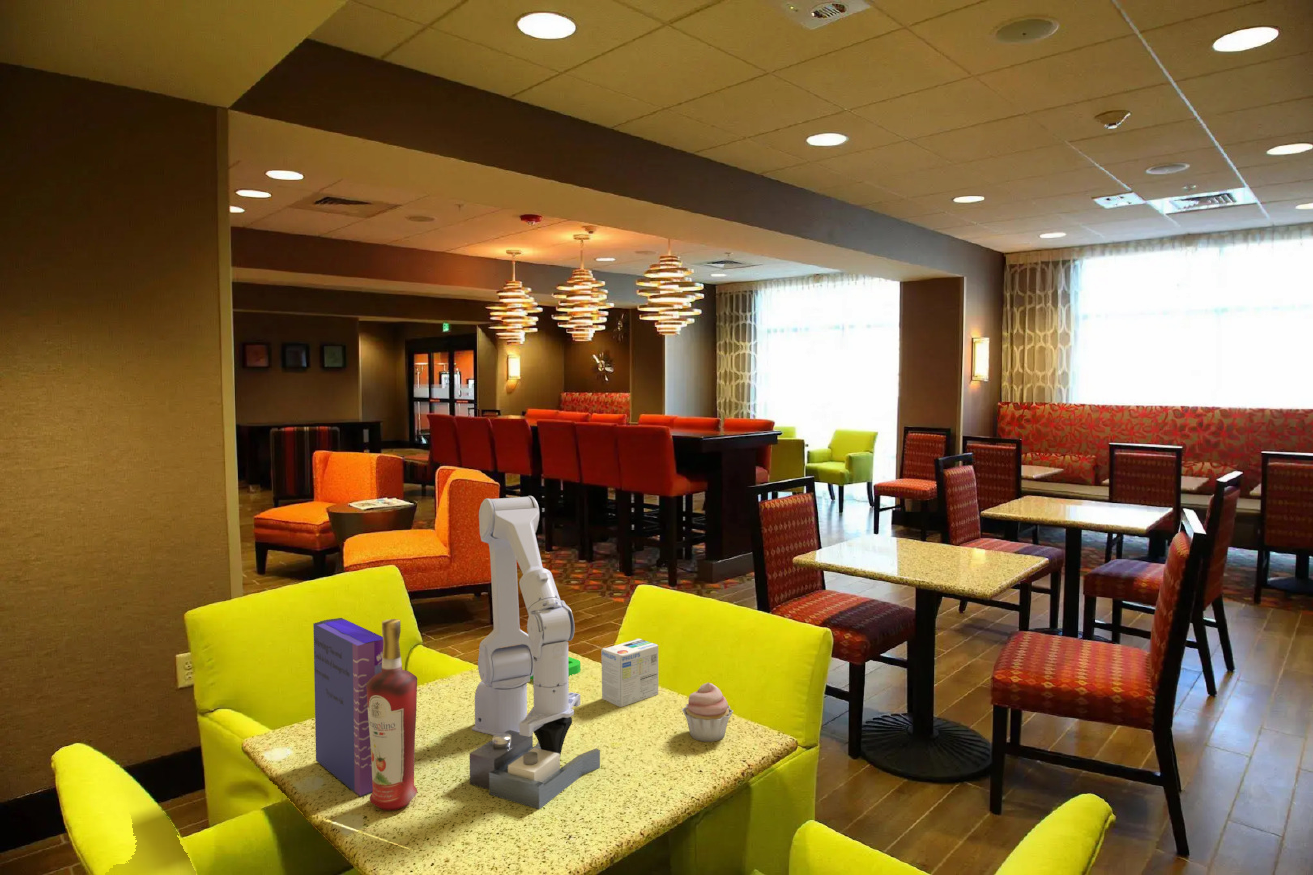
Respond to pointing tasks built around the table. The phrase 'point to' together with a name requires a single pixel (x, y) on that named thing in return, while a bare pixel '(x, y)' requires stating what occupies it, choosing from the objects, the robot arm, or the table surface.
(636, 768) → the table surface
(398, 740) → the liquor
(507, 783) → the motor bracket
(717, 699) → the cupcake
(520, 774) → the block
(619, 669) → the light bulb box
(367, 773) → the cereal box
